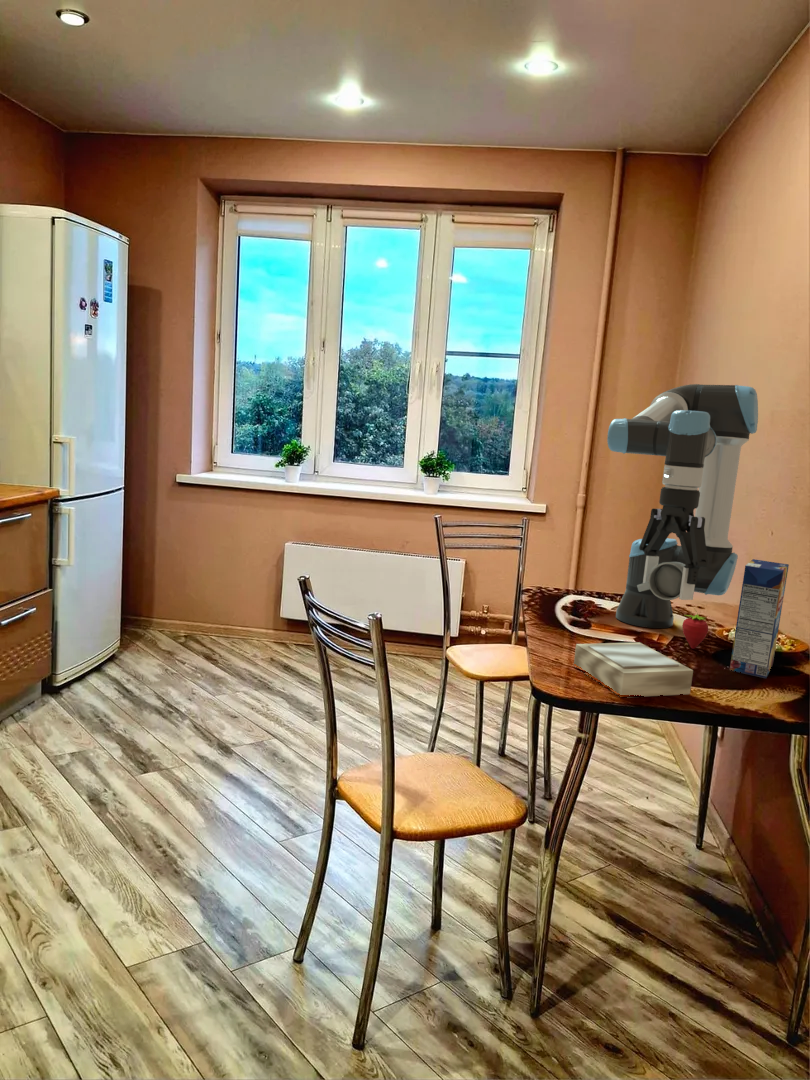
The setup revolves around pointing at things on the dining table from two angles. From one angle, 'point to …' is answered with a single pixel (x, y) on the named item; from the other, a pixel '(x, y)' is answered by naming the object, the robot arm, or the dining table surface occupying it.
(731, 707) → the dining table surface
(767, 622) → the juice carton
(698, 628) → the strawberry
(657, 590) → the ceramic mug
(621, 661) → the cream flat rectangular piece
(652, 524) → the robot arm
